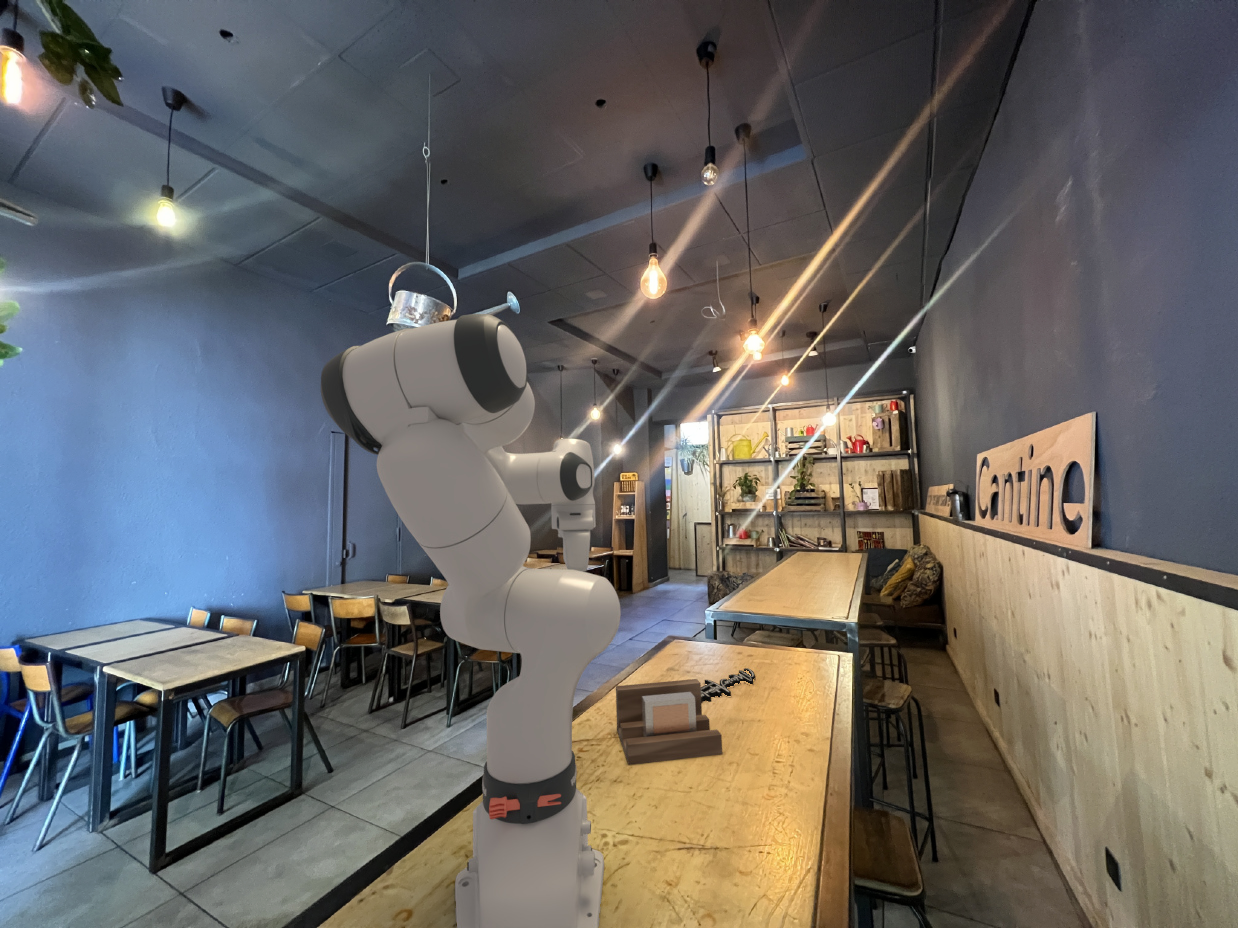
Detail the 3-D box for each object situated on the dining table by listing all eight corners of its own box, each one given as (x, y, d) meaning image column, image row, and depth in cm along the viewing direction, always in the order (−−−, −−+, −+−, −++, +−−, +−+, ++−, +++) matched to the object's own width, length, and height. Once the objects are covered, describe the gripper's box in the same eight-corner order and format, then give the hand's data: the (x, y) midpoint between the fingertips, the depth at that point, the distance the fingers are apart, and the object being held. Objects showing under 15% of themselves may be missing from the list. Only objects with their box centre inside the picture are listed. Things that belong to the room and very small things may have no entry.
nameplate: (734, 665, 137) (766, 672, 130) (734, 670, 137) (767, 678, 130) (675, 693, 117) (710, 704, 110) (676, 700, 117) (711, 711, 110)
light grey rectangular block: (697, 740, 93) (695, 697, 93) (646, 746, 91) (645, 702, 92) (692, 733, 96) (690, 691, 97) (643, 738, 94) (641, 696, 95)
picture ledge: (722, 753, 90) (720, 704, 91) (628, 764, 88) (627, 713, 88) (698, 721, 104) (696, 678, 105) (616, 730, 101) (615, 685, 102)
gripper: (556, 519, 106) (557, 582, 105) (559, 521, 86) (560, 599, 85) (584, 518, 107) (586, 581, 106) (594, 520, 87) (596, 597, 86)
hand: (574, 589), depth 95 cm, fingers open, 8 cm apart
